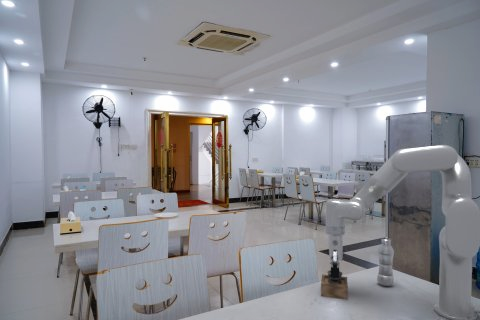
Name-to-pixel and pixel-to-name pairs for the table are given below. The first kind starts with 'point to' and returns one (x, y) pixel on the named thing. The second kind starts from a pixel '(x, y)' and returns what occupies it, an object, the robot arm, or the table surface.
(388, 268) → the plastic bottle
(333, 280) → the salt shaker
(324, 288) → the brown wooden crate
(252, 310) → the table surface
